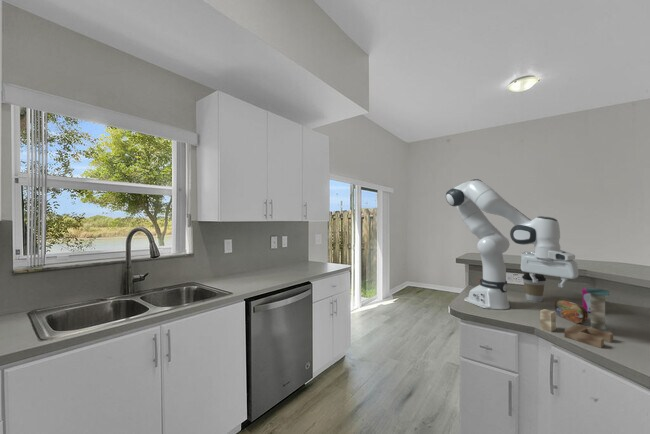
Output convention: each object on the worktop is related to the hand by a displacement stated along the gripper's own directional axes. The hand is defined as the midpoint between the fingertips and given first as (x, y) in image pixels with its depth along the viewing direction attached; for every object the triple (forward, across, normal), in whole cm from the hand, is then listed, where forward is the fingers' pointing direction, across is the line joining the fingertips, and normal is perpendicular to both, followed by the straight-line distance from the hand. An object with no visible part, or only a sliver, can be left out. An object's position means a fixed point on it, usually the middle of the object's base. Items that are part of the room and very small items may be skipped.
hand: (547, 285), depth 121 cm
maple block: (+19, 0, 0) cm, 19 cm away
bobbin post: (+20, +12, +14) cm, 27 cm away
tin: (+20, 0, +22) cm, 29 cm away
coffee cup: (+20, -24, +41) cm, 51 cm away
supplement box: (+20, 0, +44) cm, 48 cm away
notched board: (+19, +13, +3) cm, 23 cm away
